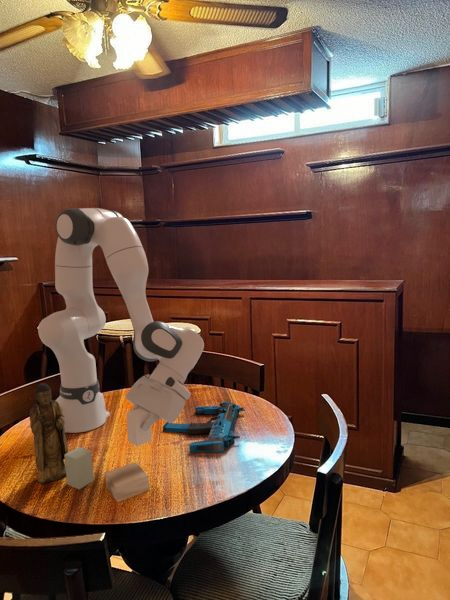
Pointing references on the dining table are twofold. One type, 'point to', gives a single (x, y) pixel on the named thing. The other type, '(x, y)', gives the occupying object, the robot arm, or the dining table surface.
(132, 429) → the cream pillar
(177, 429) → the submachine gun
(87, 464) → the sage pillar
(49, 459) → the statue
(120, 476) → the birch slab
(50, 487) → the dining table surface
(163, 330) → the robot arm
